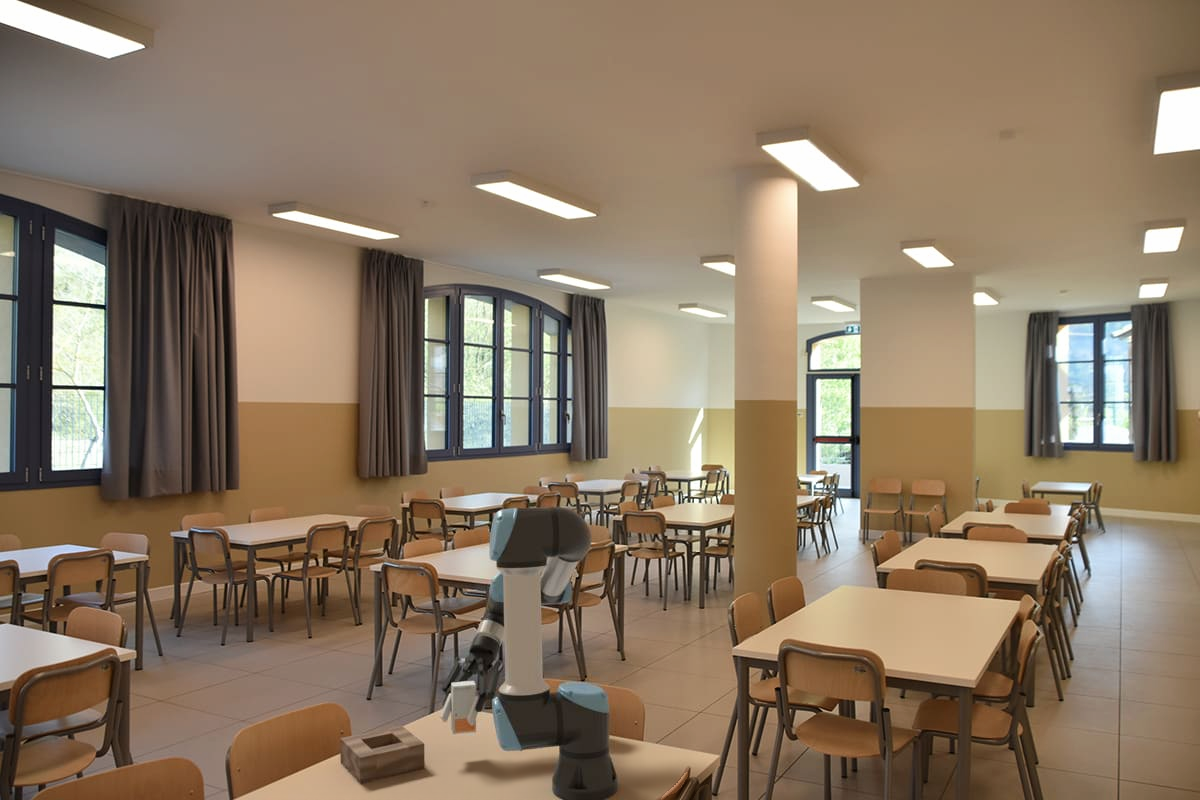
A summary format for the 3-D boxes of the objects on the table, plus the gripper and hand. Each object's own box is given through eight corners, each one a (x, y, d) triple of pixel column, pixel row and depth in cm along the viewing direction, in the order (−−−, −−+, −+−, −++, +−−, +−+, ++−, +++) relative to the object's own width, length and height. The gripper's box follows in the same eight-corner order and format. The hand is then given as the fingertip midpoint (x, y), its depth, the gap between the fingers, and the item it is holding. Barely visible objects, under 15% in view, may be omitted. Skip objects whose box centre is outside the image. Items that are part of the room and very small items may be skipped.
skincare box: (452, 735, 214) (452, 686, 215) (451, 729, 218) (450, 682, 219) (476, 732, 216) (476, 684, 216) (474, 727, 220) (474, 680, 221)
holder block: (424, 768, 210) (424, 743, 210) (360, 783, 201) (360, 757, 201) (401, 748, 223) (401, 725, 223) (340, 762, 214) (340, 738, 215)
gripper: (525, 651, 229) (496, 732, 213) (460, 647, 236) (428, 724, 220) (515, 636, 224) (485, 717, 208) (450, 631, 231) (416, 709, 215)
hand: (456, 720), depth 214 cm, fingers closed on skincare box, 7 cm apart
